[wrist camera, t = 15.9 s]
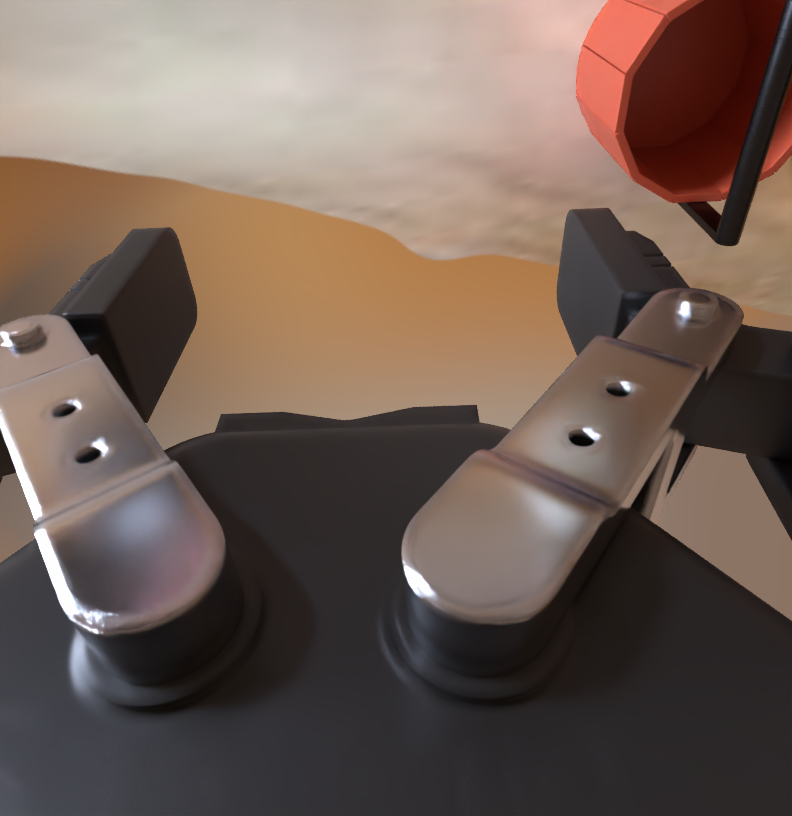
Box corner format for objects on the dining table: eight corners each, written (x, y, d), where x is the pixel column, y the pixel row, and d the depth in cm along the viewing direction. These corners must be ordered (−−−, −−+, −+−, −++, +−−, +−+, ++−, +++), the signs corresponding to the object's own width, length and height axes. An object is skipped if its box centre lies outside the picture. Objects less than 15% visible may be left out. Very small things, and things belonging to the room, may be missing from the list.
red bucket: (565, 162, 44) (625, 251, 33) (591, -45, 37) (681, -26, 25) (720, 155, 44) (837, 241, 32) (779, -56, 36) (960, -43, 25)
